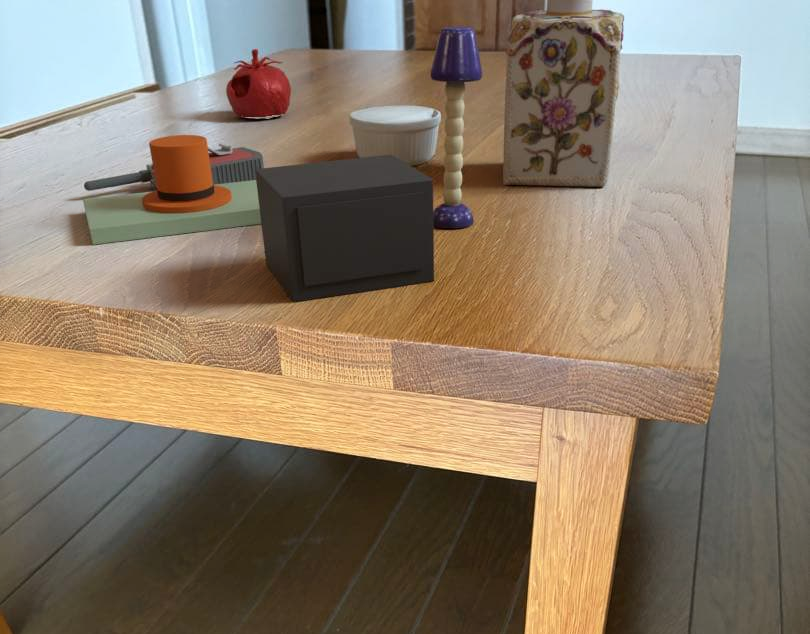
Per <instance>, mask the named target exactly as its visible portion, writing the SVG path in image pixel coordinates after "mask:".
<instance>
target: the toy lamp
mask: <svg viewBox="0 0 810 634" xmlns="http://www.w3.org/2000/svg"><path fill="white" fill-rule="evenodd" d="M482 78H483V69H482V64H481V57H480V52H479V47H478V42H477V35H476V32H475V30H474V28H473V27H469V26H447V27H446V26H445V27H442V28H441V29H440V32H439V35H438V38H437V43H436V47H435V52H434V56H433V60H432V65H431V69H430V79H431V80H433V81H434V82H443V83H445V88H444V91H445V93H444V94H445V97H446V101H445V104H444V112H445V115H446V118H445V121H444V132H445V137H444V140H443V141H444V142H443V149H444V152H445V154H444V158H443V166H444V170H445V171H444V174H443V184H444V190H443V194H442V195H443V198H442V199H443V202H444V203H441V204H439V205H437V206H436V207H435V208H434V209H433V223H434V227H436V228H441V229H463V228H468V227H470V226H472V225H473V224H474V223H475V222H474V216H473V213H472V211H471V209H470V208H469V207H468V206H466V205H465V204H463V203H462V197H463V194H462V193H463V192H462V189H461V186H462V184H463V174H462V171H461V170H462V168H463V165H464V158H463V154H462V151H463V149H464V137H463V135H462V134H463V132H464V128H465V124H464V119H463V115H464V113H465V101H464V96H465V93H466V83H470V82H477V81H478V82H479V81H480V80H481V79H482Z"/></svg>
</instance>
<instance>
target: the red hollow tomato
mask: <svg viewBox="0 0 810 634" xmlns="http://www.w3.org/2000/svg"><path fill="white" fill-rule="evenodd" d="M258 54H259V50H258V48H254V49H252V50H251V57H252V59H251V61H250V62H251V64H250V63H247V62H246V61H244V60H238V61H235V62H234V64H238V63H239V64H238V65H236V67H235V68H233V70H234V71H236V72H235V74H233V76H232V77H231V79H230V80H229V81H228V82H227V84H226V88H225V94H226V98H227V101H228V104H229V106H230V107H231V110H232V112H234V113H235V114H236V116H238V115H239V116H238V117H240V116H243V117H266V116H272V115H281V114H284V115H285V114H287V111H288V109H289V107H290V103H291V94H292V87H291V84H290V80H289V79H288V76H287V74H286V73H285V72H284V71H283V70H281V69H280V68H278V67H276V66H273V65H272V64H274V63H275V64H282V63H283V61H277V60H273V59H271V58H269V57H268V56H264V57H263V58H262V59H260V60H259V55H258ZM266 60H267V61H270V62H265V61H266Z"/></svg>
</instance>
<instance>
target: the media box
mask: <svg viewBox="0 0 810 634" xmlns="http://www.w3.org/2000/svg"><path fill="white" fill-rule="evenodd" d="M255 175H256V183H257V191H258V200H259V208H260V217H261V224H260V225H261V233H262V242H263V248H264V258H265V264H266V267H267V269H268V270H269V271H270V272H271V273H272V275H273V276H274V278H275V279H276V280H277V282H278V283H279V284H280V286H281V287H282V289H283V291H284V292H285V293H286V294H287V295H288V297H289V298H290V300H291V301H292V302H293V303H296V302H303V301H309V300H316V299H322V298H329V297H336V296H342V295H349V294H355V293H362V292H368V291H376V290H382V289H389V288H395V287H396V288H397V287H404V286H410V285H416V284H422V283H423V284H424V283H431V282H434V281H435V255H434V254H435V241H434V238H435V237H434V235H435V230H434V229H435V228H434V227H435V226H434V223H433V211H434V180H433V178H431V177H430V176H428V175H427V174H425V173H423V172H421V171H419V170H417V168H414V167H413V166H410V165H408V164H406V163H405V162H403V161H401V160H400V159H398V158H396V157H395V156H393V155H382V156H372V157H363V158H359V157H354V158H346V159H337V160H328V161H327V160H326V161H319V162H309V163H308V162H307V163H300V164H290V165H283V166H282V165H279V166H271V167H264V168H262V169H255Z"/></svg>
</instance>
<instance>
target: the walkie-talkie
mask: <svg viewBox="0 0 810 634" xmlns="http://www.w3.org/2000/svg"><path fill="white" fill-rule="evenodd" d="M218 147H221V148H218V149H213V148H211V147H209V146H208V153H209V160H210V167H211V173H212V180H213V184H214V185H215V184H224V183H233V182H242V181H251V180H256V175H255V169H262V168H265V165H264V156H263V154H262V152H260V151H257V150H254V149H251V148H247V147H245V146H240V147H234V148H233V146H232V145H229V144H226V143H223V142H220V143H218ZM145 165H146V169H142V170H139V171H138V172H132V173H125V174H121V175H115V176H109V177H105V178H98V179H93V180H88V181H85V182H84V184H83V188H84V190H86V191H88V192H90V191H91V192H92V191H97V190H103V189H108V188H115V187H121V186H125V185H132V184H137V183H142V184H144V183H149V184H150V186H151V188H156V189H157V185H156V179H155V174H154V169H153V163H148V164H145Z"/></svg>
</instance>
